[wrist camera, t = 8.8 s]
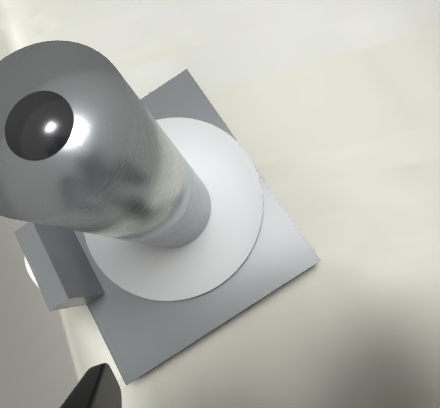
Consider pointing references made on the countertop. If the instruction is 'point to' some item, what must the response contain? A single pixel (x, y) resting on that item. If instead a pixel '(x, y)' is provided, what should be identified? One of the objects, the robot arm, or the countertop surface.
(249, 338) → the countertop surface
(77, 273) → the scale
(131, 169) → the metal canister
